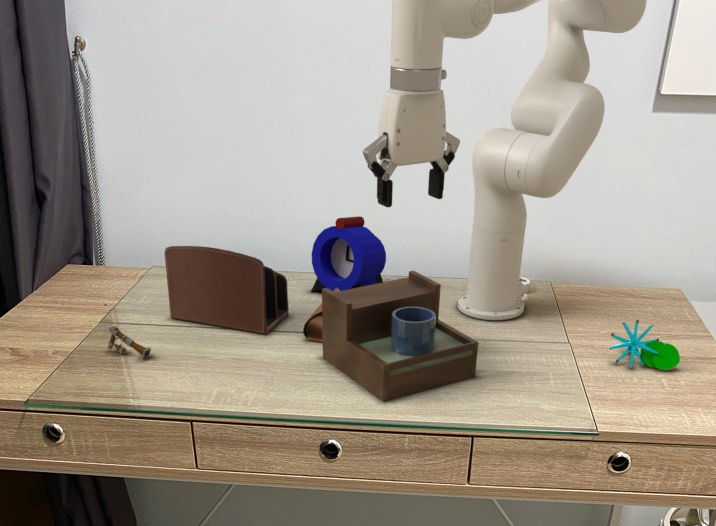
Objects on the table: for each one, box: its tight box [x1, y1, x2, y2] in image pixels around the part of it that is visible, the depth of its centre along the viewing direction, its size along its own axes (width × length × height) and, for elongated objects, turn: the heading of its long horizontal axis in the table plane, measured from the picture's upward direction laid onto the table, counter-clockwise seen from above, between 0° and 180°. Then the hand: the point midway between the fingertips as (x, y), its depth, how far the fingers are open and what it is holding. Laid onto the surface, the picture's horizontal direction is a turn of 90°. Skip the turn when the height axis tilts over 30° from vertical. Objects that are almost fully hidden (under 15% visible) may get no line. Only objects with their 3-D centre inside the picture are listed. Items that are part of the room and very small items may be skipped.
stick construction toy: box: [608, 319, 681, 371], centre depth 146 cm, size 12×7×8 cm
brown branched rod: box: [107, 325, 152, 361], centre depth 147 cm, size 2×8×4 cm, turn 66°
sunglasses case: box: [302, 288, 340, 343], centre depth 158 cm, size 18×7×7 cm
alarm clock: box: [310, 216, 387, 293], centre depth 169 cm, size 12×12×15 cm
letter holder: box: [164, 245, 290, 336], centre depth 157 cm, size 10×20×14 cm, turn 69°
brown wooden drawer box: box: [321, 270, 479, 402], centre depth 141 cm, size 19×18×12 cm
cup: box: [391, 307, 436, 356], centre depth 137 cm, size 7×7×6 cm
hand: (410, 201), depth 137 cm, fingers open, 9 cm apart
